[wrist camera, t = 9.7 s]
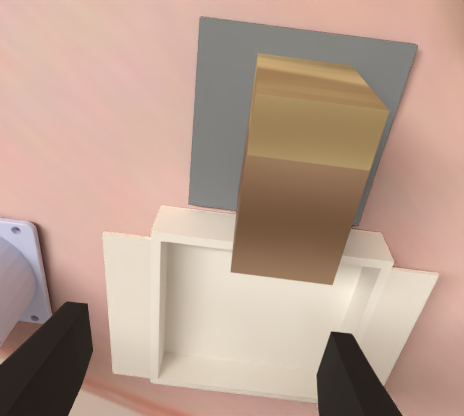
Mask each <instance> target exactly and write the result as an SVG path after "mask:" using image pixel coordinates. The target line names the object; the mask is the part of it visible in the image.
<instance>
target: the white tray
mask: <svg viewBox="0 0 464 416" xmlns="http://www.w3.org/2000/svg"><path fill="white" fill-rule="evenodd" d="M235 220H236V214H229V213H221V212H213V211H205V210H197V209H189V208H181V207H173V206H165V205H161V207H160V210H159V212H158V215H157V217H156V220H155V222H154V225H153V227H152V230H151V237H147V236H139V235H131V234H123V233H115V232H107V231H104V232H103V234H102V236H103V250H104V263H105V277H106V290H107V303H108V317H109V330H110V344H111V357H112V371H113V374H120V375H128V376H136V377H144V378H150V383H154V384H162V385H170V386H178V387H187V388H195V389H203V390H211V391H219V392H227V393H236V394H244V395H252V396H260V397H268V398H276V399H285V400H293V401H301V402H309V403H317V404H318V396H317V378H316V375H317V372H318V369H319V366H320V363H321V360H322V357H323V354H324V351H325V348H326V345H327V342H328V339H329V336H330V333H331V331H333V332H342V333H351V334H352V335H353V336H354V337H355V339H356V341H357V343H358V344H359V346H360V348H361V350H362V351H363V353H364V355H365V357H366V358H367V360H368V362H369V363H370V365H371V367H372V368H373V370H374V372H375V373H376V375H377V377H378V378H379V380H380V382H381V383H382V385H383V386H384V385H385V383H386V381H387V379H388V377H389V375H390V373H391V371H392V369H393V367H394V365H395V363H396V361H397V359H398V357H399V355H400V353H401V351H402V349H403V347H404V345H405V343H406V341H407V339H408V337H409V335H410V333H411V331H412V329H413V327H414V325H415V323H416V321H417V319H418V317H419V315H420V313H421V311H422V309H423V307H424V305H425V303H426V301H427V299H428V297H429V295H430V293H431V291H432V289H433V287H434V285H435V283H436V281H437V279H438V277H439V275H438V273H436V272H428V271H420V270H412V269H404V268H396V267H393V264H394V260H393V258H392V255H391V253H390V251H389V249H388V246H387V244H386V242H385V239H384V237H383V235H382V233H380V232H372V231H364V230H356V229H351V230H350V233H349V236H348V239H347V242H346V246H345V249H344V252H343V255H342V258H341V261H340V264H339V267H338V270H337V273H336V276H335V279H334V282H333V285H327V284H319V283H311V282H303V281H295V280H287V279H279V278H271V277H264V276H256V275H248V274H240V273H232V272H230V271H231V261H232V250H233V240H234V230H235Z"/></svg>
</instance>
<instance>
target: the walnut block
mask: <svg viewBox="0 0 464 416" xmlns="http://www.w3.org/2000/svg"><path fill="white" fill-rule="evenodd" d="M388 114H389V109H388V108H387V107H386V106H385V105H384V103H383V102H382V101H381V100H380V99H379V97H378V96H377V95H376V94H375V93H374V92H373V90H372V89H371V88H370V87H369V86H368V84H367V83H366V82H365V81H364V80H363V78H362V77H361V76H360V75H359V74H358V72H357V71H356V70H355V69H354V68H353V66H352V65H346V64H338V63H331V62H323V61H315V60H308V59H300V58H292V57H285V56H277V55H270V54H262V53H258V54H257V61H256V69H255V76H254V83H253V90H252V97H251V105H250V112H249V119H248V126H247V133H246V140H245V148H244V155H243V162H242V169H241V176H240V184H239V191H238V199H237V209H236V220H235V230H234V240H233V250H232V261H231V271H230V272H232V273H240V274H248V275H256V276H264V277H271V278H279V279H287V280H295V281H303V282H311V283H319V284H327V285H333V282H334V279H335V276H336V273H337V270H338V267H339V264H340V261H341V258H342V255H343V252H344V249H345V246H346V242H347V239H348V236H349V233H350V230H351V227H352V224H353V221H354V218H355V215H356V212H357V209H358V206H359V203H360V200H361V197H362V194H363V191H364V187H365V184H366V181H367V178H368V175H369V172H370V169H371V166H372V163H373V160H374V157H375V154H376V151H377V148H378V145H379V142H380V139H381V136H382V132H383V129H384V126H385V123H386V120H387V117H388Z"/></svg>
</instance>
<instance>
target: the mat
mask: <svg viewBox="0 0 464 416" xmlns="http://www.w3.org/2000/svg"><path fill="white" fill-rule="evenodd" d="M417 47H418V45H416V44H412V43H404V42H396V41H389V40H381V39H373V38H365V37H357V36H350V35H342V34H334V33H326V32H318V31H310V30H303V29H295V28H287V27H279V26H271V25H264V24H256V23H248V22H240V21H232V20H224V19H217V18H209V17H200V21H199V37H198V54H197V70H196V86H195V103H194V119H193V136H192V152H191V168H190V185H189V201H188V205H196V206H204V207H212V208H220V209H228V210H236V209H237V199H238V191H239V184H240V176H241V169H242V162H243V155H244V148H245V140H246V133H247V126H248V119H249V112H250V105H251V97H252V90H253V83H254V76H255V69H256V61H257V54H258V53H262V54H270V55H277V56H285V57H292V58H300V59H308V60H315V61H323V62H331V63H338V64H346V65H352V66H353V68H354V69H355V70H356V71H357V72H358V74H359V75H360V76H361V77H362V78H363V80H364V81H365V82H366V83H367V84H368V86H369V87H370V88H371V89H372V90H373V92H374V93H375V94H376V95H377V96H378V97H379V99H380V100H381V101H382V102H383V103H384V105H385V106H386V107H387V108H388V109H389V114H388V117H387V120H386V123H385V126H384V129H383V132H382V136H381V139H380V142H379V145H378V148H377V151H376V154H375V157H374V160H373V163H372V166H371V169H370V172H369V175H368V178H367V181H366V184H365V187H364V191H363V194H362V197H361V200H360V203H359V206H358V209H357V212H356V215H355V218H354V221H353V224H352V225H356V226H358V225H359V222H360V219H361V216H362V212H363V209H364V206H365V203H366V200H367V197H368V194H369V191H370V188H371V185H372V182H373V179H374V176H375V173H376V170H377V167H378V164H379V161H380V158H381V155H382V152H383V149H384V146H385V143H386V140H387V137H388V134H389V131H390V128H391V125H392V122H393V119H394V116H395V113H396V110H397V107H398V104H399V101H400V98H401V95H402V92H403V89H404V86H405V83H406V80H407V77H408V74H409V71H410V68H411V65H412V62H413V59H414V56H415V53H416V50H417Z"/></svg>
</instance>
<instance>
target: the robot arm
mask: <svg viewBox="0 0 464 416" xmlns="http://www.w3.org/2000/svg"><path fill="white" fill-rule="evenodd" d="M16 227H17V228H19V229H20V230H21V231H20V230H18V229H17V228H16ZM18 321H23V322H31V323H39V324H43V325H42V326H41V327H40V328H39V329H38V330H37V331H36V332H35V333H34V334H33V335H32V336H31V337H30V338H29V339H28V340H27V341H25V342H24V343H23V344H22V345H21V346H20V347H19V348H18V349H17V350H16V351H15V352H14V353H13V354H12V355H10V356H9V357H8V358H7V359H6V360H5V361H4V362H3V363H2V364H1V365H0V416H68V414H69V412H70V410H71V408H72V406H73V403H74V401H75V399H76V397H77V395H78V392H79V390H80V388H81V386H82V383H83V380H84V377H85V374H86V371H87V368H88V365H89V362H90V358H91V355H92V352H93V346H92V337H91V329H90V320H89V312H88V304H85V303H76V302H66V303H64V304H63V305H62V306H61V307H60V308H59V309H58V310H57V311H56V312H55V313H54V314H53V315H52V311H51V306H50V300H49V295H48V289H47V283H46V278H45V272H44V267H43V261H42V255H41V250H40V244H39V239H38V233H37V228H36V226H35V225H34V224H33V223H31V222H28V221H23V220H15V219H7V218H0V347H1V346H2V344H3V343H4V341H5V340H6V338H7V337H8V335H9V334H10V332H11V331H12V329H13V328H14V326H15V325H16V324H17V322H18ZM316 378H317V396H318V409H319V416H403V415H402V414H401V412H400V411H399V410H398V408H397V406H396V405H395V403H394V402H393V400H392V399H391V397H390V396H389V394H388V393H387V391H386V390H385V388H384V386H383V385H382V383H381V382H380V380H379V378H378V377H377V375H376V373H375V372H374V370H373V368H372V367H371V365H370V363H369V362H368V360H367V358H366V357H365V355H364V353H363V351H362V350H361V348H360V346H359V344H358V343H357V341H356V339H355V337H354V336H353V335H352V334H351V333H342V332H333V331H331V333H330V336H329V339H328V342H327V345H326V348H325V351H324V354H323V357H322V360H321V363H320V366H319V369H318V372H317V375H316Z"/></svg>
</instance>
